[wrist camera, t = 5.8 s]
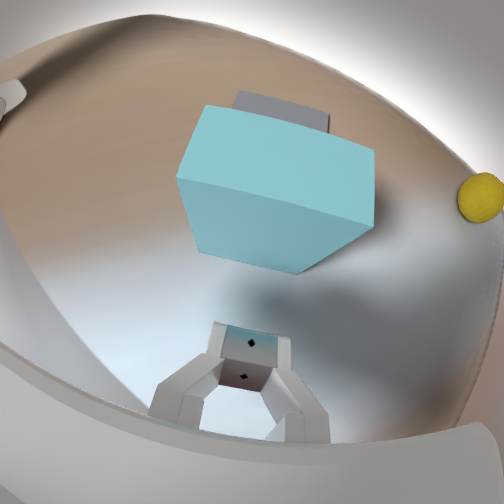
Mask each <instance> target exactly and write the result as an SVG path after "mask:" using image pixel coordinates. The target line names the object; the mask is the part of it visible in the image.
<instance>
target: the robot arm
mask: <svg viewBox="0 0 504 504" xmlns="http://www.w3.org/2000/svg"><path fill="white" fill-rule="evenodd" d="M5 107H6V102H5V100H4V99H2V98H1V97H0V121H1V119H2V116H3V114H4V111H5ZM218 385H223V386H229V387H234V388H240V389H245V390H250V391H255V392H261V393H260V394H261V396H262V398H263V400H264V402H265V404H266V406H267V407H268V409H269V411H270V413H271V415H272V417H273V419H274V421H275V422H276V424H277V426H276V427H275V428H274V429H273V430H272V431H271V433H270V434H269V435H268V436H267V437H266V440H258V439H251V438H243V437H237V436H231V435H225V434H220V433H214V432H209V431H205V430H200V429H199V425H200V420H201V415H202V409H203V404H204V401H203V399H204V398H205V397H207V396H208V395H209V394H210V393H211V392H212V391H213V390H214V389H215V388H216V387H217V386H218ZM0 504H504V479H503V471H502V464H501V459H500V454H499V449H498V445H497V443H496V440H495V438H494V436H493V435H492V434H491V433H490V431H489V430H488V429H486V427H485V426H484V425H482V424H481V423H480V422H473V423H470V424H466V425H463V426H459V427H455V428H452V429H448V430H443V431H439V432H434V433H430V434H425V435H419V436H413V437H407V438H401V439H393V440H385V441H374V442H361V443H338V444H331V441H330V429H329V417H328V414H327V412H326V411H325V410H324V408H323V407H322V406H321V404H320V403H319V402H318V400H317V399H316V398H315V397H314V395H313V394H312V393H311V391H310V390H309V389H308V387H307V386H306V385H305V383H304V382H303V381H302V379H301V378H300V376H299V375H298V374H297V372H296V371H292V358H291V339H290V337H285V336H280V335H274V334H269V333H263V332H258V331H253V330H247V329H243V328H239V327H235V326H231V325H226V324H222V323H218V322H214V323H213V326H212V330H211V334H210V338H209V342H208V346H207V349H206V353H205V354H203V353H201V354H200V355H198V356H197V357H196V358H194V359H193V360H192V361H190V362H189V363H188V364H186V365H185V366H184V367H182V368H181V369H179V370H178V371H177V372H175V373H174V374H172V375H171V376H170V377H168V378H167V379H165V380H164V381H163V382H161V383H160V384H158V386H157V389H156V391H155V394H154V397H153V400H152V403H151V406H150V409H149V412H148V415H145V414H143V413H140V412H136V411H134V410H131V409H128V408H126V407H123V406H120V405H118V404H115V403H113V402H110V401H108V400H105V399H103V398H100V397H98V396H96V395H94V394H91V393H89V392H87V391H85V390H82V389H81V388H78V387H76V386H74V385H72V384H70V383H68V382H66V381H64V380H62V379H61V378H59V377H57V376H55V375H53V374H51V373H50V372H48V371H46V370H44V369H43V368H41V367H39V366H37V365H35V364H34V363H32V362H31V361H29V360H28V359H26V358H24V357H23V356H21V355H20V354H18V353H17V352H15V351H14V350H12V349H11V348H10V347H8V346H7V345H5V344H4V343H2V342H1V341H0Z"/></svg>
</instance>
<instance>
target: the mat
mask: <svg viewBox="0 0 504 504" xmlns="http://www.w3.org/2000/svg"><path fill="white" fill-rule="evenodd" d="M232 109H234V110H239V111H244V112H249V113H254V114H258V115H263V116H267V117H271V118H275V119H279V120H283V121H287V122H291V123H294V124H298V125H301V126H305V127H308V128H312V129H315V130H318V131H321V132H324V133H327V129H328V113H325V112H322V111H319V110H316V109H312V108H309V107H306V106H302V105H299V104H295V103H291V102H288V101H284V100H280V99H276V98H272V97H267V96H263V95H258V94H254V93H249V92H244V91H239V92H238V94H237V97H236V100H235V102H234V105H233V107H232Z"/></svg>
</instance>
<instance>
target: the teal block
mask: <svg viewBox="0 0 504 504" xmlns="http://www.w3.org/2000/svg"><path fill="white" fill-rule="evenodd" d="M176 180H177V184H178V187H179V190H180V194H181V197H182V200H183V204H184V207H185V210H186V213H187V217H188V220H189V223H190V226H191V229H192V232H193V235H194V238H195V241H196V244H197V247H198V250H199V252H200V253H204V254H209V255H213V256H217V257H221V258H226V259H230V260H234V261H238V262H243V263H247V264H251V265H256V266H260V267H264V268H269V269H273V270H277V271H282V272H286V273H291V274H295V275H297V274H299V273H301V272H302V271H304V270H306V269H307V268H309V267H311V266H312V265H314V264H316V263H317V262H319V261H321V260H322V259H324V258H326V257H327V256H329V255H330V254H332V253H334V252H335V251H337V250H338V249H340V248H342V247H343V246H345V245H346V244H348V243H350V242H351V241H353V240H354V239H356V238H357V237H359V236H361V235H362V234H364V233H365V232H367V231H368V230H370V229H371V228H373V227H374V198H375V171H374V150H372V149H370V148H367V147H364V146H362V145H359V144H356V143H354V142H351V141H348V140H345V139H342V138H340V137H337V136H334V135H331V134H328V133H324V132H321V131H318V130H315V129H312V128H308V127H305V126H301V125H298V124H294V123H291V122H287V121H283V120H279V119H275V118H271V117H267V116H263V115H258V114H254V113H249V112H244V111H239V110H234V109H229V108H223V107H217V106H211V105H206V106H205V108H204V110H203V113H202V115H201V117H200V119H199V121H198V124H197V126H196V128H195V131H194V133H193V135H192V138H191V140H190V142H189V145H188V147H187V150H186V152H185V154H184V157H183V159H182V162H181V165H180V167H179V170H178V172H177V175H176Z"/></svg>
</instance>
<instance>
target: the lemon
mask: <svg viewBox="0 0 504 504" xmlns="http://www.w3.org/2000/svg"><path fill="white" fill-rule="evenodd" d="M458 205H459V211H460V212H462V214H463V215H464V216H465V217H466V218H467V219H468V220H469V221H471V222H475V223H484V222H487V221H490V220H491V219H493V218H494V217H495V216H497V215H498V213H499V212H500V211H501V210H502V208H503V206H504V184H503V183H502V182H500V180H498V178H497V177H495V176H494V175H492V174H490V173H479V174H475V175H473V176H471V177H469V178H468V179H467V180H466V181H465V182H464V183H463V184H462V186H461V187H460V190H459V193H458Z"/></svg>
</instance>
